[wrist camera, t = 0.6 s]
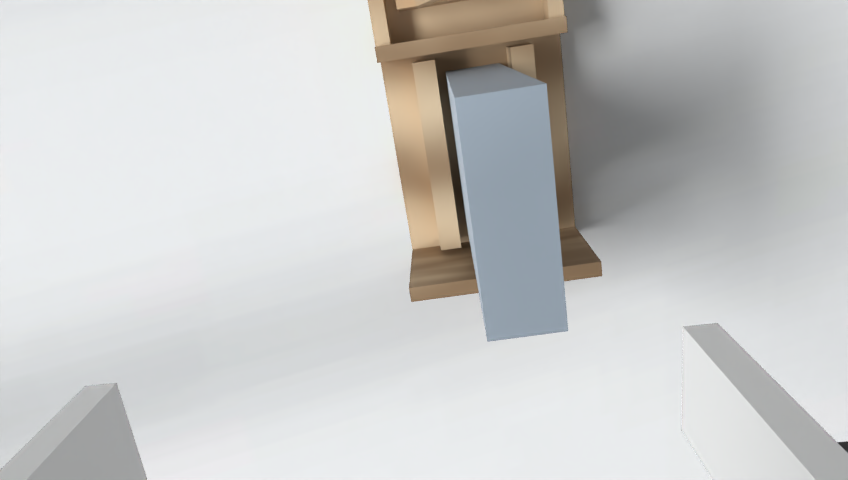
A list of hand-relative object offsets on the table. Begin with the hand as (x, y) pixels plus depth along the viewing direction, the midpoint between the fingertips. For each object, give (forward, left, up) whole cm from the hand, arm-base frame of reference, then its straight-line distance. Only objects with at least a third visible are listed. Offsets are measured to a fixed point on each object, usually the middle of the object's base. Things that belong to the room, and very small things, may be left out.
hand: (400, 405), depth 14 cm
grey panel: (-1, +4, -23) cm, 23 cm away
